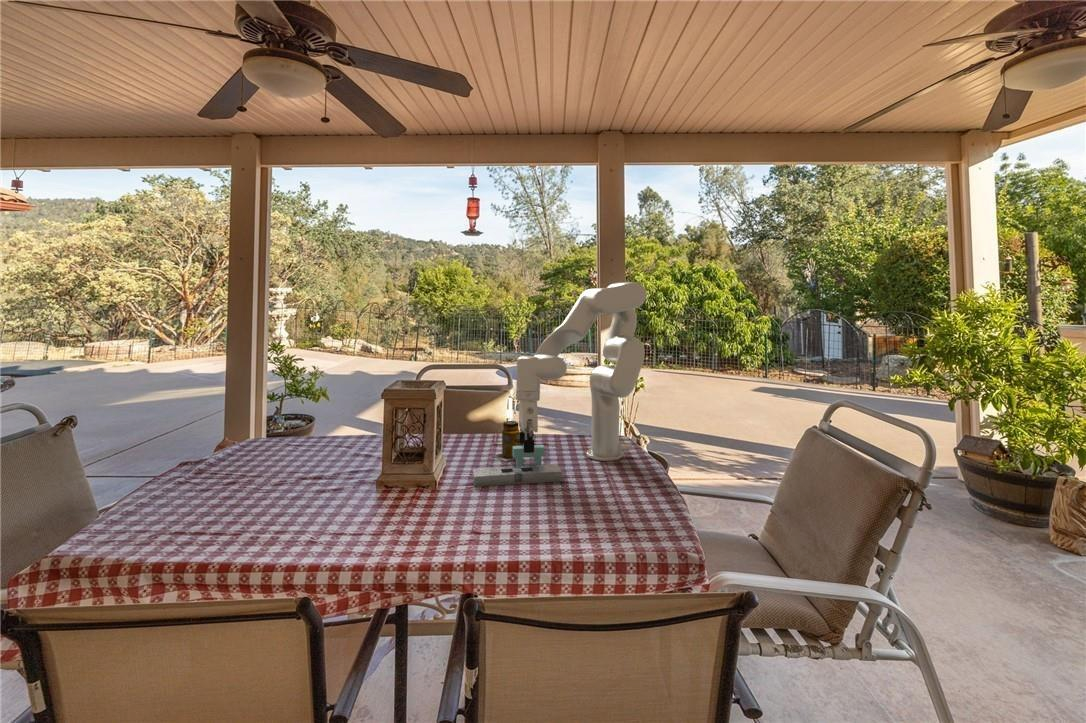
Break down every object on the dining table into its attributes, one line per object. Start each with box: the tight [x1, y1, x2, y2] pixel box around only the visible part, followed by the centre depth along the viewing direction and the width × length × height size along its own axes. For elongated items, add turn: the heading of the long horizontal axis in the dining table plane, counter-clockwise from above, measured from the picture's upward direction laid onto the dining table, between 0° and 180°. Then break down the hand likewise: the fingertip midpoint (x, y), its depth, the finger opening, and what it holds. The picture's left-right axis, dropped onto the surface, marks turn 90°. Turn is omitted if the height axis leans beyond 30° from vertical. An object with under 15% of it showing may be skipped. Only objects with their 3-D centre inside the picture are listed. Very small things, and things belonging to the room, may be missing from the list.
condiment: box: [493, 420, 521, 462], centre depth 171 cm, size 7×8×12 cm
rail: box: [472, 463, 563, 488], centre depth 149 cm, size 26×7×3 cm, turn 100°
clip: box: [513, 444, 546, 466], centre depth 159 cm, size 10×3×7 cm, turn 100°
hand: (526, 448), depth 158 cm, fingers open, 9 cm apart
